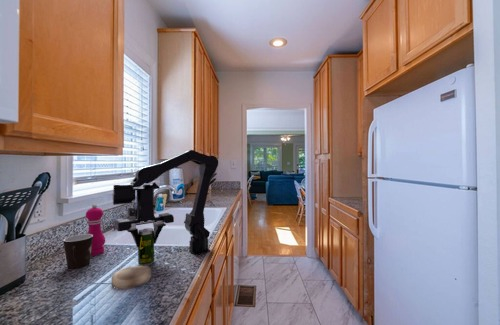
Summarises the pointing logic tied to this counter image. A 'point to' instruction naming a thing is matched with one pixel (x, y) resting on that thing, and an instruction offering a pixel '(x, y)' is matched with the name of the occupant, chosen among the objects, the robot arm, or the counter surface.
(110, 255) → the counter surface
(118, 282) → the plate
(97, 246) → the pepper mill
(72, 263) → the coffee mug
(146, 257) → the beer can
